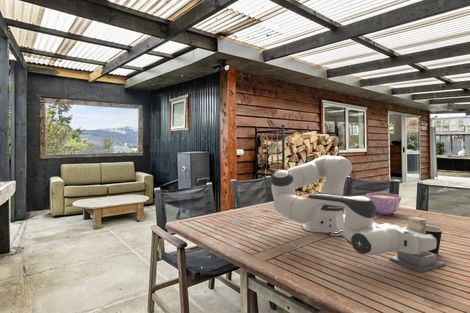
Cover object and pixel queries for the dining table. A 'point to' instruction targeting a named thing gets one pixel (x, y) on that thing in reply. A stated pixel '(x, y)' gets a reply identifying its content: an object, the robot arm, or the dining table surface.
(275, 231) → the dining table surface
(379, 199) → the bowl of food
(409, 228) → the beige wooden block
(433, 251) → the coffee mug
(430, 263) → the grey stepped tray
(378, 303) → the dining table surface
